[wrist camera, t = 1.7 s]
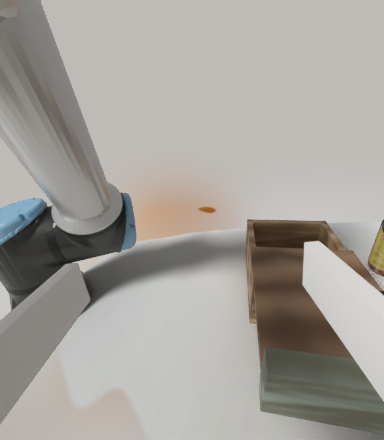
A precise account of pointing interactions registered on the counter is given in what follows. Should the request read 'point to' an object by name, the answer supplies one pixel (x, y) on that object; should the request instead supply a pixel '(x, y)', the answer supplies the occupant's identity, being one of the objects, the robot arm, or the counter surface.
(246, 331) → the counter surface
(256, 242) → the chest
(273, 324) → the lid
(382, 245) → the sauce bottle
